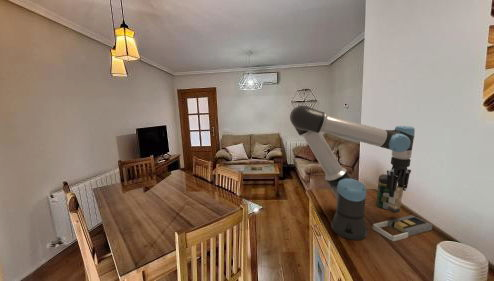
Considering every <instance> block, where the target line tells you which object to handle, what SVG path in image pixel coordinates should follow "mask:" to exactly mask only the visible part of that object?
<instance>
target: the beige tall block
mask: <svg viewBox="0 0 494 281" xmlns="http://www.w3.org/2000/svg"><path fill="white" fill-rule="evenodd" d="M395 191H396V198H395V204H392V203H390V202H389V203H388V209H387V211H389V212H391V213H393V214H398V213H400V212H401V206H402V198H403V195H402V193H403V194H404V190H403V188H402V187H399V186H398V185H397V186H396V190H395Z"/></svg>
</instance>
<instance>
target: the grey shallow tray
mask: <svg viewBox="0 0 494 281" xmlns="http://www.w3.org/2000/svg"><path fill="white" fill-rule="evenodd" d="M406 219H407V220H409V221H411V222H413V223H415V224H416V226H413V227H409V228H405V229H403V233H406V232H407V233H408V237H412V236H415V235H419V234H421V233H425V232H426V233H427V232H429V231H432V230H433V224H432V223H429V222H427V221H425V220H423V219H421V218H419V217H417V216H415V215H413V214H410V215H406V216H403V217H397V218H394V219H389V220H387V221H388V226H387V227H389V228H391V229H392V230H394V231H396V232H397V233H398V234H402V232H400V231H398V230H397V229H395V228H394V224H395V222H398V221H400V222H402V220H406Z"/></svg>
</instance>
